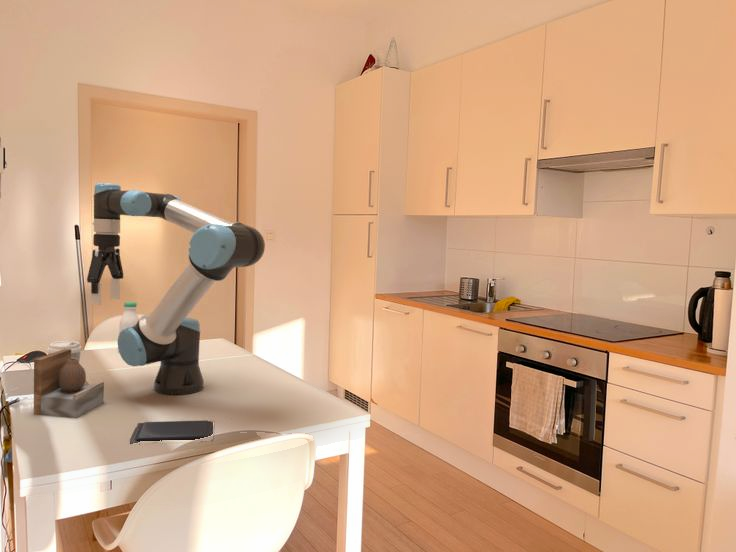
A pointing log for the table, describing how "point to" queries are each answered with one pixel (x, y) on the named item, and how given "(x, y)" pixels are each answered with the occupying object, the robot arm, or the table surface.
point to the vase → (71, 376)
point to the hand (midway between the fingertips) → (105, 301)
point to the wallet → (172, 430)
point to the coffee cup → (62, 345)
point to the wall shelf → (53, 397)
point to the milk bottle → (129, 316)
